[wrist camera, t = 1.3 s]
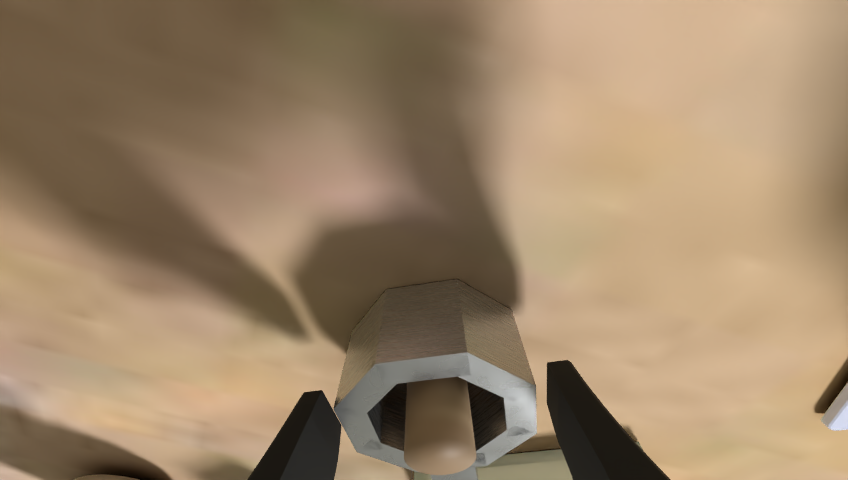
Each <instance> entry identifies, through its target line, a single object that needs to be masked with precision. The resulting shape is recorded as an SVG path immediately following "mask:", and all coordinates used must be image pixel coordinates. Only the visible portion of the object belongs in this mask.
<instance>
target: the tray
mask: <svg viewBox="0 0 848 480" xmlns="http://www.w3.org/2000/svg"><path fill="white" fill-rule="evenodd" d="M635 443H636V444H637V445H638V446H639V447H640V448H641V446H640V444H639V442H635ZM641 449H642V448H641ZM477 473H478V480H573V478H572V475H571V473H570V470H569V468H568V465H567V463H566V460H565V457H564V455H563V452H562V450H561V449H558V450H547V451H537V452H527V453H517V454H506V455H503V456H501V457H500V458H498V459H497V460H495V461H494V462H492V463H491V464H489V465H487V466H481V467H477ZM414 480H432V478H431V475H430V474H424V473H421V472H415V471H414Z"/></svg>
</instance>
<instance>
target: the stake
mask: <svg viewBox="0 0 848 480" xmlns="http://www.w3.org/2000/svg"><path fill="white" fill-rule="evenodd" d="M404 460H405V462H406V464H407V465H408V466H409V467H410V468H412V469H414V470H416V471H418V472H421V473H424V474H430V475H448V474H454V473H457V472H460V471H463V470H465V469H467V468H469V467H470V466H471V465H472V464H473V463H474V462H475V460H476V448H475V440H474V432H473V424H472V416H471V409H470V401H469V393H468V385H467V381H466V380H464V379H462V378H459V377H449V378H441V379H432V380H424V381H416V382H407V396H406V419H405V441H404Z"/></svg>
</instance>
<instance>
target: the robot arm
mask: <svg viewBox="0 0 848 480" xmlns="http://www.w3.org/2000/svg"><path fill="white" fill-rule="evenodd" d="M547 405H548V408H549V412H550V416H551V419H552V423H553V426H554V430H555V433H556V436H557V439H558V442H559V445H560V447H561V450H562V452H563V455H564V457H565V460H566V463H567V465H568V468H569V470H570V473H571V475H572V478H573V480H670V479H669V478H668V477H667V476H666V475H665V474H664V472H663V471H662V470H661V469H660V468H659V467H658V466H657V465H656V464H655V463H654V462H653V461H652V460H651V459H650V458H649V457H648V456H647V455H646V453H645V452H644V451H643V450H642V449H641V448H640V447H639V446H638V445H637V444H636V443H635V441H634V440H633V439H632V438H631V437H630V436H629V435H628V434H627V432H626V431H625V430H624V429H623V428H622V427H621V425H620V424H619V423H618V422H617V421H616V420H615V418H614V417H613V416H612V415H611V414H610V413H609V411H608V410H607V409H606V408H605V407H604V405H603V404H602V403H601V402H600V400H599V399H598V398H597V397H596V395H595V394H594V393H593V392H592V390H591V389H590V388H589V386H588V385H587V384H586V382H585V381H584V380H583V378H582V377H581V376H580V374H579V373H578V372H577V370H576V369H575V367H574V366H573V364H572V363H571V362H570V361H568V360H564V361H556V362H548V363H547ZM821 421H822V422H823V423H824V424H825V425H826V426H827V427H828V428H829V429H831V430H847V429H848V382H847V384H846V385H845V386H844V388H843V389H842V390H841V392H840V393H839V394H838V396H837V397H836V399H835V400H834V401H833V403H832V404H831V405H830V407H829V408H828V409H827V411H826V412H825V413H824V415H823V416H822V418H821ZM340 435H341V424H340V422H339V420H338V418H337V417H336V415H335V413H334V411H333V409H332V407H331V406H330V404H329V402H328V400H327V398H326V397H325V395H324V393H323V391H322V390H320V391H311V392H304V393H303V395H302V396H301V398H300V399H299V401H298V402H297V404H296V406H295V407H294V409H293V410H292V412H291V414H290V415H289V417H288V418H287V420H286V422H285V423H284V425H283V426H282V428H281V430H280V431H279V433H278V434H277V436H276V437H275V439H274V441H273V442H272V444H271V445H270V447H269V448H268V450H267V451H266V453H265V454H264V456H263V457H262V459H261V460H260V462H259V463H258V465H257V466H256V468H255V469H254V471H253V472H252V474H251V475H250V477H249V478H248V480H334V476H335V472H336V467H337V462H338V454H339V445H340Z"/></svg>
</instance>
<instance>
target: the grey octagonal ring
mask: <svg viewBox="0 0 848 480" xmlns="http://www.w3.org/2000/svg"><path fill="white" fill-rule="evenodd" d="M449 377H459V378H462V379H464V380H466V381H467V385H468V393H469V401H470V409H471V416H472V424H473V432H474V440H475V448H476V460H475V462H474V463H473V464H472V465H471V466H470V467H469V468H467V469H465V470H463V471H460V472H457V473H454V474H448V475H431V478H432V480H478V473H477V467H481V466H487V465H489V464H491V463H492V462H494V461H495V460H497V459H498V458H500V457H501V456H503V455H504V454H506V453H507V452H509V451H511V450H512V449H514V448H515V447H517V446H518V445H520V444H521V443H523V442H524V441H526V440H528V439H529V438H531V437H532V436H534V435H535V434H537V422H536V385H535V382H534V379H533V375H532V372H531V369H530V366H529V363H528V360H527V357H526V354H525V350H524V347H523V344H522V341H521V338H520V335H519V332H518V329H517V325H516V322H515V319H514V316H513V313H512V310H511V309H509V308H507V307H506V306H504V305H502V304H500V303H498V302H497V301H495V300H493V299H491V298H490V297H488V296H486V295H484V294H483V293H481V292H479V291H477V290H475V289H474V288H472V287H470V286H468V285H467V284H465V283H463V282H461V281H460V280H458V279H454V280H447V281H441V282H434V283H427V284H420V285H413V286H406V287H399V288H393V289H386V290H385V291H384V293H383V294H382V295H381V296H380V297H379V299H378V300H377V301H376V302H375V304H374V305H373V306H372V307H371V309H370V310H369V311H368V312H367V313H366V315H365V316H364V317H363V318H362V320H361V321H360V322H359V323H358V325H357V326H356V327H355V328H354V329H353V331H352V333H351V337H350V341H349V346H348V350H347V354H346V358H345V363H344V367H343V371H342V375H341V380H340V384H339V388H338V392H337V397H336V401H335V405H334V411H335V413H336V415H337V416H338V418H339V420H340V422H341V424H342V426H343V428H344V429H345V431H346V433H347V435H348V437H349V439H350V440H351V442H352V444H353V446H354V448H355V450H356V451H357V452H358V453H361V454H364V455H367V456H370V457H373V458H376V459H379V460H382V461H385V462H388V463H391V464H394V465H397V466H400V467H403V468H406V469H409V470H412V471H415V472H418V471H416V470H414V469H412V468H410V467H409V466H408V465H407V464H406V462H405V460H404V441H405V419H406V396H407V382H416V381H424V380H432V379H441V378H449Z"/></svg>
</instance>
